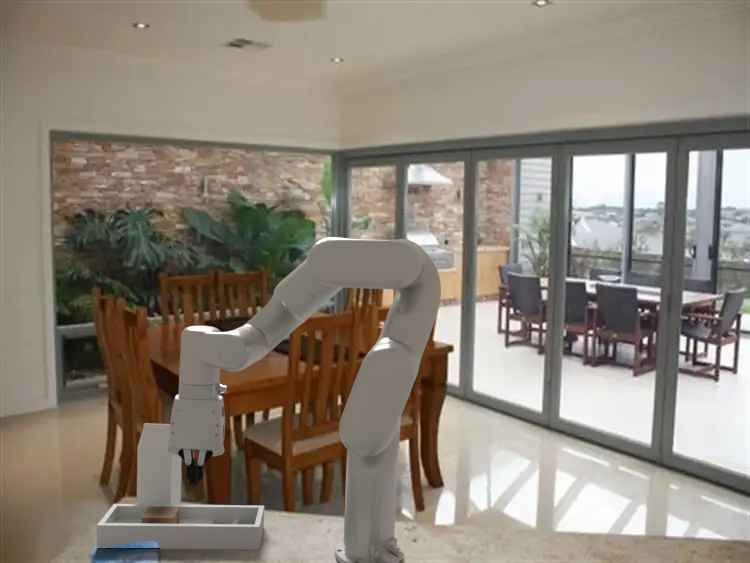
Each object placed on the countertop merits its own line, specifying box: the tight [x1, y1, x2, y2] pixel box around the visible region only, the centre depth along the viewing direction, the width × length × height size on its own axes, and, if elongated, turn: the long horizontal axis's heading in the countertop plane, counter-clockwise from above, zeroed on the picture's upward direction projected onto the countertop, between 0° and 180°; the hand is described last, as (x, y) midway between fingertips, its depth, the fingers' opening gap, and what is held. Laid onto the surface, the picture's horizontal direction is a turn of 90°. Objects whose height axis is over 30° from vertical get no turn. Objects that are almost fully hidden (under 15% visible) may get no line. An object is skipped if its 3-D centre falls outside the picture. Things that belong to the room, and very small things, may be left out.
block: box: [142, 507, 179, 524], centre depth 134 cm, size 6×5×3 cm
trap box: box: [96, 503, 265, 551], centre depth 134 cm, size 30×10×4 cm, turn 94°
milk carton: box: [136, 422, 183, 505], centre depth 145 cm, size 7×7×19 cm
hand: (194, 482), depth 134 cm, fingers closed
